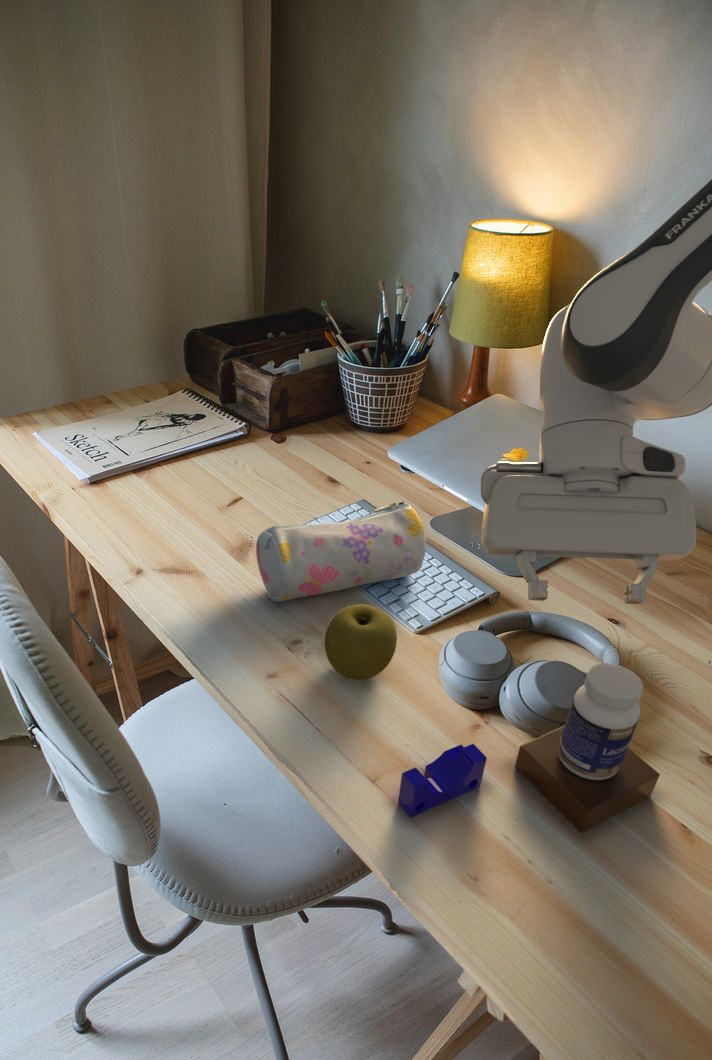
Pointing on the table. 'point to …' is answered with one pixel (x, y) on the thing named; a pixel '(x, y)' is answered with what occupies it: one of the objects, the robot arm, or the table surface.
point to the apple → (360, 641)
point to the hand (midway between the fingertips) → (586, 601)
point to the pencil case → (341, 553)
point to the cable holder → (442, 779)
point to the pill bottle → (601, 722)
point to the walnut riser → (583, 782)
